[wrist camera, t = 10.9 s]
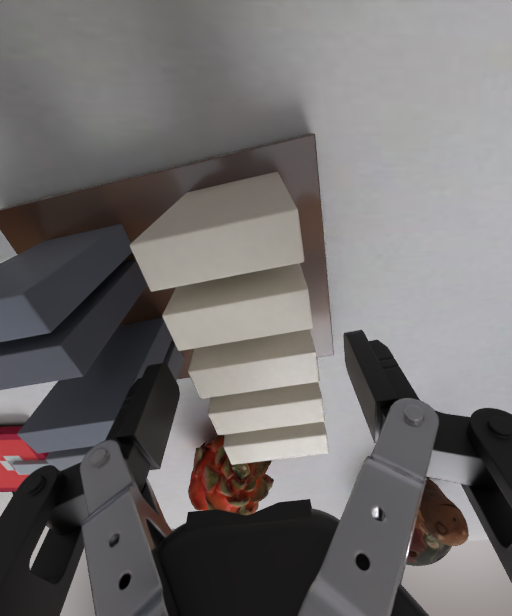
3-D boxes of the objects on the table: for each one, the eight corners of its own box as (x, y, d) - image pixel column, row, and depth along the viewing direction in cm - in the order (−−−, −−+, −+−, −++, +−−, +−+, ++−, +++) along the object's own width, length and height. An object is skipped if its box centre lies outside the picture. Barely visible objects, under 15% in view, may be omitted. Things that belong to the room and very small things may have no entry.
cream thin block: (213, 278, 20) (187, 371, 12) (291, 263, 19) (316, 351, 12) (220, 300, 21) (200, 399, 13) (295, 286, 20) (320, 382, 12)
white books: (186, 192, 17) (127, 244, 9) (277, 171, 16) (297, 208, 9) (239, 357, 24) (231, 465, 16) (305, 346, 23) (329, 454, 15)
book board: (6, 206, 19) (-13, 212, 17) (310, 133, 16) (315, 133, 15) (118, 377, 27) (111, 389, 26) (330, 343, 25) (334, 355, 23)
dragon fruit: (236, 394, 30) (242, 444, 38) (161, 442, 27) (184, 487, 35) (289, 462, 25) (283, 503, 33) (205, 533, 21) (220, 561, 29)
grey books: (43, 241, 18) (-109, 320, 11) (122, 223, 18) (21, 294, 10) (123, 367, 24) (62, 476, 17) (184, 357, 24) (150, 466, 16)
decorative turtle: (461, 459, 34) (511, 542, 28) (401, 507, 43) (428, 579, 37) (388, 455, 33) (423, 541, 27) (341, 505, 42) (359, 580, 35)
